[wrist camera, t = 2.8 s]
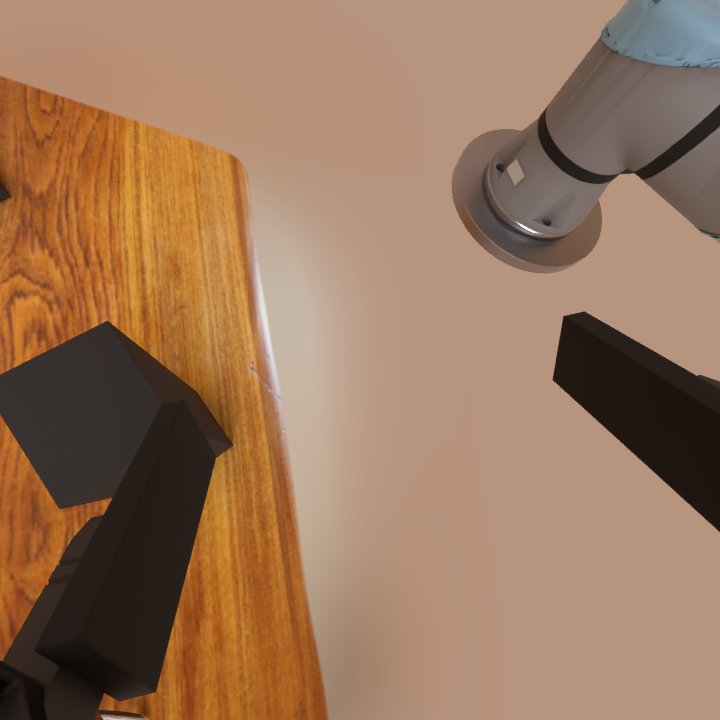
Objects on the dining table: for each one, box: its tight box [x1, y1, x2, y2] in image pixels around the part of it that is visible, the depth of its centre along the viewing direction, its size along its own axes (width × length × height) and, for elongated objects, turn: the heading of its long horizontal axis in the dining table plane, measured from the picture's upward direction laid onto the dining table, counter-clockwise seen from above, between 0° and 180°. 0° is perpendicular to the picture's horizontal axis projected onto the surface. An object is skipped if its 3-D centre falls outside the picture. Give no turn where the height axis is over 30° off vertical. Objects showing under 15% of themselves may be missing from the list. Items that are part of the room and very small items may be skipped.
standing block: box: [0, 321, 233, 509], centre depth 22 cm, size 5×6×17 cm
